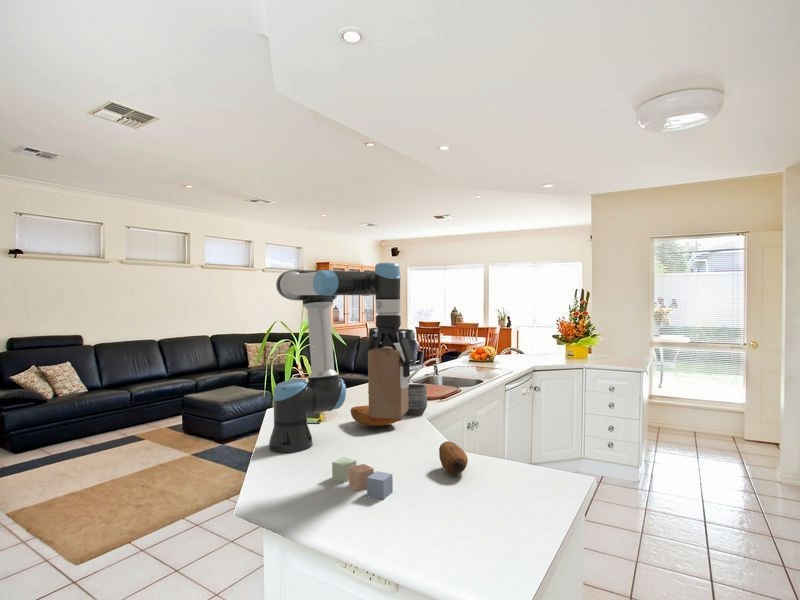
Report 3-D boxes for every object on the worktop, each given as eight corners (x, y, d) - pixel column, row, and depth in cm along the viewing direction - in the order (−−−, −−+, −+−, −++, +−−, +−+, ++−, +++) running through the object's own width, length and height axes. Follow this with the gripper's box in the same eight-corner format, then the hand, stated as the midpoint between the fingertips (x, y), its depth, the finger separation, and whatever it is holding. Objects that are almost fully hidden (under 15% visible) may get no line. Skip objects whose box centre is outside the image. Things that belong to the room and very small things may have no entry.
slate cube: (367, 496, 118) (366, 477, 118) (376, 489, 122) (376, 471, 122) (383, 500, 115) (383, 480, 115) (392, 492, 120) (392, 474, 120)
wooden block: (400, 420, 128) (399, 350, 128) (367, 418, 130) (366, 350, 130) (409, 411, 137) (408, 346, 137) (378, 409, 140) (377, 346, 140)
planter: (427, 416, 199) (427, 388, 199) (400, 417, 199) (400, 388, 200) (426, 410, 211) (426, 383, 212) (400, 410, 212) (400, 383, 212)
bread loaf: (405, 429, 181) (405, 409, 181) (366, 435, 173) (366, 414, 173) (383, 417, 201) (383, 399, 201) (347, 422, 193) (347, 403, 193)
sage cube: (332, 479, 130) (332, 461, 130) (344, 473, 134) (343, 457, 134) (344, 483, 127) (344, 465, 127) (356, 477, 131) (356, 460, 131)
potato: (463, 488, 129) (442, 477, 126) (448, 462, 142) (429, 451, 139) (478, 468, 128) (458, 456, 126) (462, 443, 141) (443, 432, 139)
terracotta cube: (349, 485, 125) (348, 467, 125) (363, 481, 128) (363, 463, 128) (358, 491, 121) (358, 472, 121) (373, 486, 124) (373, 468, 124)
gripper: (353, 314, 141) (353, 381, 140) (408, 315, 122) (408, 392, 122) (371, 313, 146) (372, 378, 146) (426, 314, 128) (427, 388, 128)
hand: (388, 385), depth 134 cm, fingers closed on wooden block, 13 cm apart
